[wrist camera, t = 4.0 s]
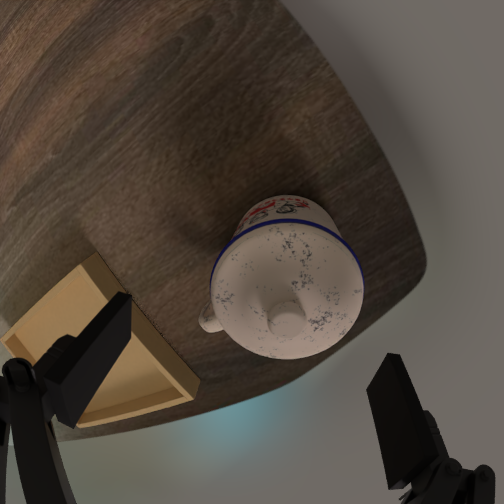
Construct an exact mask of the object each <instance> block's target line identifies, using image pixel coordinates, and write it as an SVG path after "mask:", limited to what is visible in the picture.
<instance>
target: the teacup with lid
mask: <svg viewBox="0 0 504 504" xmlns="http://www.w3.org/2000/svg"><path fill="white" fill-rule="evenodd" d="M210 297H211V300H210V301H209V302H208V303H207V304H206V306H205V307H204V308H203V310H202V312H201V314H200V316H199V324H200V325H201V327H202V328H203V329H204V330H205V331H207V332H218V331H220V330H223V329H224V330H225V331H226V332H227V334H228V335H229V336H230V337H231V338H232V339H234V340H235V341H236V342H237V343H238V344H240V345H241V346H243V347H244V348H246V349H248V350H250V351H252V352H254V353H257V354H259V355H263V356H266V357H271V358H277V359H296V358H303V357H307V356H311V355H314V354H317V353H319V352H321V351H324V350H325V349H327V348H329V347H331V346H332V345H334V344H335V343H336V342H338V341H339V340H340V339H341V338H342V337H343V336H344V335H345V334H346V333H347V332H348V331H349V329H350V328H351V327H352V325H353V324H354V322H355V320H356V319H357V317H358V314H359V312H360V309H361V306H362V302H363V297H364V277H363V272H362V268H361V266H360V263H359V261H358V259H357V257H356V255H355V253H354V252H353V250H352V249H351V248H350V246H349V245H348V244H347V243H346V242H345V241H344V240H343V239H342V237H341V235H340V233H339V231H338V229H337V227H336V225H335V223H334V222H333V220H332V218H331V217H330V215H329V214H328V213H327V212H326V211H325V210H324V209H323V208H322V207H320V206H319V205H318V204H316V203H315V202H313V201H311V200H309V199H306V198H303V197H299V196H294V195H280V196H275V197H271V198H268V199H265V200H263V201H261V202H259V203H258V204H256V205H255V206H253V207H252V208H251V209H250V210H249V211H248V212H247V213H246V214H245V215H244V217H243V218H242V220H241V221H240V223H239V225H238V227H237V229H236V231H235V233H234V235H233V237H232V239H231V241H230V242H229V243H228V244H227V245H226V246H225V247H224V249H223V250H222V251H221V253H220V254H219V256H218V258H217V260H216V262H215V264H214V267H213V270H212V273H211V279H210Z"/></svg>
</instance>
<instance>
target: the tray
mask: <svg viewBox="0 0 504 504" xmlns="http://www.w3.org/2000/svg"><path fill="white" fill-rule="evenodd" d="M118 291H120V292H124V293H127V292H126V291H125V290H124V288H123V287H122V286H121V284H120V283H119V282H118V280H117V279H116V278H115V276H114V275H113V273H112V272H111V271H110V269H109V268H108V267H107V265H106V264H105V262H104V261H103V259H102V258H101V257H100V255H99V254H98V252H95V253H94V254H92V255H91V256H90V257H88V258H87V259H86V260H84V261H83V262H81V263H80V264H79V265H78V266H77V267H75V268H74V269H73V270H72V271H71V272H70V273H69V274H67V275H66V276H65V277H64V278H63V279H62V280H61V281H60V282H58V283H57V284H56V285H55V286H54V287H53V288H52V289H51V290H50V291H49V292H47V293H46V294H45V295H44V296H43V297H42V298H41V299H40V300H39V301H38V302H37V303H36V304H35V305H34V306H33V307H32V308H30V309H29V310H28V311H27V312H26V313H25V314H24V315H23V316H22V317H21V318H20V319H19V320H18V321H17V322H16V323H15V324H14V325H13V326H12V327H11V328H10V329H9V330H8V331H7V332H6V333H5V334H4V335H3V336H2V337H1V339H0V340H1V342H2V343H3V344H4V346H5V347H6V348H7V350H8V351H9V352H10V354H11V355H12V356H13V357H14V358H16V357H17V358H24V359H26V360H28V361H29V362H30V363H31V364H32V367H33V366H34V364H35V363H36V362H37V361H38V360H39V359H40V358H41V357H42V355H43V354H44V353H46V351H47V350H48V349H49V348H50V347H51V346H52V344H53V343H54V342H55V341H56V340H57V339H58V338H60V337H62V336H64V335H66V334H69V335H72V336H74V337H77V336H78V335H79V334H80V333H81V332H82V330H83V329H84V328H85V327H86V326H87V325H88V324H89V323H90V321H91V320H92V319H93V318H94V317H95V316H96V315H97V314H98V313H99V311H100V310H101V309H102V308H103V307H104V306H105V305H106V304H107V303H108V302H109V301H110V300H111V298H112V297H113V296H114V295H115V294H116V293H117V292H118ZM199 383H200V379H199V378H198V377H197V376H196V374H195V373H194V372H193V371H192V370H191V369H190V368H189V367H188V366H187V365H186V363H185V362H184V361H183V360H182V359H181V358H180V357H179V356H178V355H177V353H176V352H175V351H174V350H173V349H172V348H171V346H170V345H169V344H168V343H167V342H166V341H165V339H164V338H163V337H162V336H161V335H160V334H159V332H158V331H157V330H156V329H155V328H154V326H153V325H152V324H151V323H150V321H149V320H148V319H147V318H146V317H145V315H144V314H143V313H142V312H141V310H140V309H139V308H138V306H137V305H136V304H135V303H134V301H133V300H132V321H131V340H130V341H129V343H128V344H127V346H126V347H125V349H124V350H123V352H122V353H121V355H120V356H119V358H118V359H117V361H116V362H115V364H114V365H113V367H112V368H111V370H110V371H109V373H108V374H107V376H106V378H105V379H104V381H103V382H102V384H101V385H100V387H99V388H98V390H97V392H96V393H95V395H94V396H93V398H92V400H91V401H90V403H89V404H88V406H87V408H86V409H85V411H84V412H83V414H82V416H81V417H80V419H79V421H78V422H77V424H76V425H77V426H78V427H79V428H84V427H89V426H94V425H99V424H103V423H108V422H112V421H117V420H121V419H125V418H129V417H133V416H137V415H141V414H145V413H149V412H153V411H156V410H160V409H163V408H167V407H170V406H174V405H177V404H181V403H184V402H187V401H190V400H193V399H194V398H195V395H196V392H197V389H198V386H199Z"/></svg>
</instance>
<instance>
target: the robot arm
mask: <svg viewBox="0 0 504 504" xmlns="http://www.w3.org/2000/svg"><path fill="white" fill-rule="evenodd" d="M131 321H132V295H130V294H127V293H124V292H120V291H118V292H117V293H116V294H115V295H114V296H113V297H112V298H111V300H110V301H109V302H108V303H107V304H106V305H105V306H104V307H103V308H102V309H101V310H100V311H99V313H98V314H97V315H96V316H95V317H94V318H93V319H92V320H91V321H90V323H89V324H88V325H87V326H86V327H85V328H84V329H83V330H82V332H81V333H80V334H79V335H78V336H77V337H74V336H72V335H69V334H66V335H64V336H62V337H60V338H58V339H57V340H56V341H55V342H54V343H53V344H52V346H51V347H50V348H49V349H48V350H47V351H46V353H44V354H43V355H42V357H41V358H40V359H39V360H38V361H37V362H36V363H35V364H34V366H33V367H32V364H31V363H30V362H29V361H28V360H26V359H24V358H17V357H16V358H12V359H10V360H8V361H7V362H6V363H5V364H4V365H3V367H2V373H3V376H4V377H3V376H0V504H5V492H6V489H5V488H6V466H7V453H8V442H9V434H10V426H11V429H12V436H13V443H14V449H15V455H16V460H17V465H18V470H19V475H20V480H21V483H22V488H23V491H24V496H25V499H26V503H27V504H77V503H76V501H75V498H74V495H73V493H72V490H71V487H70V484H69V481H68V478H67V475H66V472H65V469H64V466H63V462H62V459H61V455H60V452H59V448H58V445H57V441H56V437H55V433H54V428H53V424H52V421H51V419H52V417H53V416H54V414H56V417H57V419H58V421H59V422H61V423H63V424H65V425H67V426H69V427H71V428H73V429H74V427H75V426H76V424H77V422H78V421H79V419H80V417H81V416H82V414H83V412H84V411H85V409H86V408H87V406H88V404H89V403H90V401H91V400H92V398H93V396H94V395H95V393H96V392H97V390H98V388H99V387H100V385H101V384H102V382H103V381H104V379H105V378H106V376H107V374H108V373H109V371H110V370H111V368H112V367H113V365H114V364H115V362H116V361H117V359H118V358H119V356H120V355H121V353H122V352H123V350H124V349H125V347H126V346H127V344H128V343H129V341H130V340H131ZM366 391H367V395H368V399H369V403H370V407H371V410H372V415H373V419H374V423H375V427H376V432H377V436H378V440H379V445H380V449H381V454H382V459H383V464H384V468H385V474H386V479H387V484H388V489H389V490H393V489H403V488H404V487H405V486H407V485H408V484H409V483H410V482H411V486H412V488H411V489H410V490H409V491H408V492H406V493H405V494H404V495H403V496H401V497H400V498H399V500H401V499H403V498H404V497H405V498H404V499H403V501H402V503H401V504H494V503H495V473H494V471H493V470H492V469H491V468H490V467H489V466H487V465H480V466H478V467H477V468H476V469H475V470H474V471H473V470H468V469H462V466H461V464H460V463H459V462H458V461H457V460H455V459H453V458H449V455H448V452H447V450H446V447H445V444H444V442H443V439H442V436H441V435H440V431H439V429H438V428H437V424H436V421H435V418H434V417H433V416H432V415H431V413H430V412H429V411H427V410H425V411H424V410H423V409H422V406H421V404H420V401H419V399H418V396H417V394H416V392H415V389H414V387H413V384H412V382H411V379H410V377H409V375H408V372H407V370H406V368H405V365H404V363H403V361H402V358H401V356H400V354H393V353H387V355H386V357H385V358H384V360H383V362H382V364H381V366H380V367H379V369H378V371H377V373H376V374H375V376H374V378H373V379H372V381H371V383H370V384H369V386H368V388H367V389H366Z"/></svg>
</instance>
